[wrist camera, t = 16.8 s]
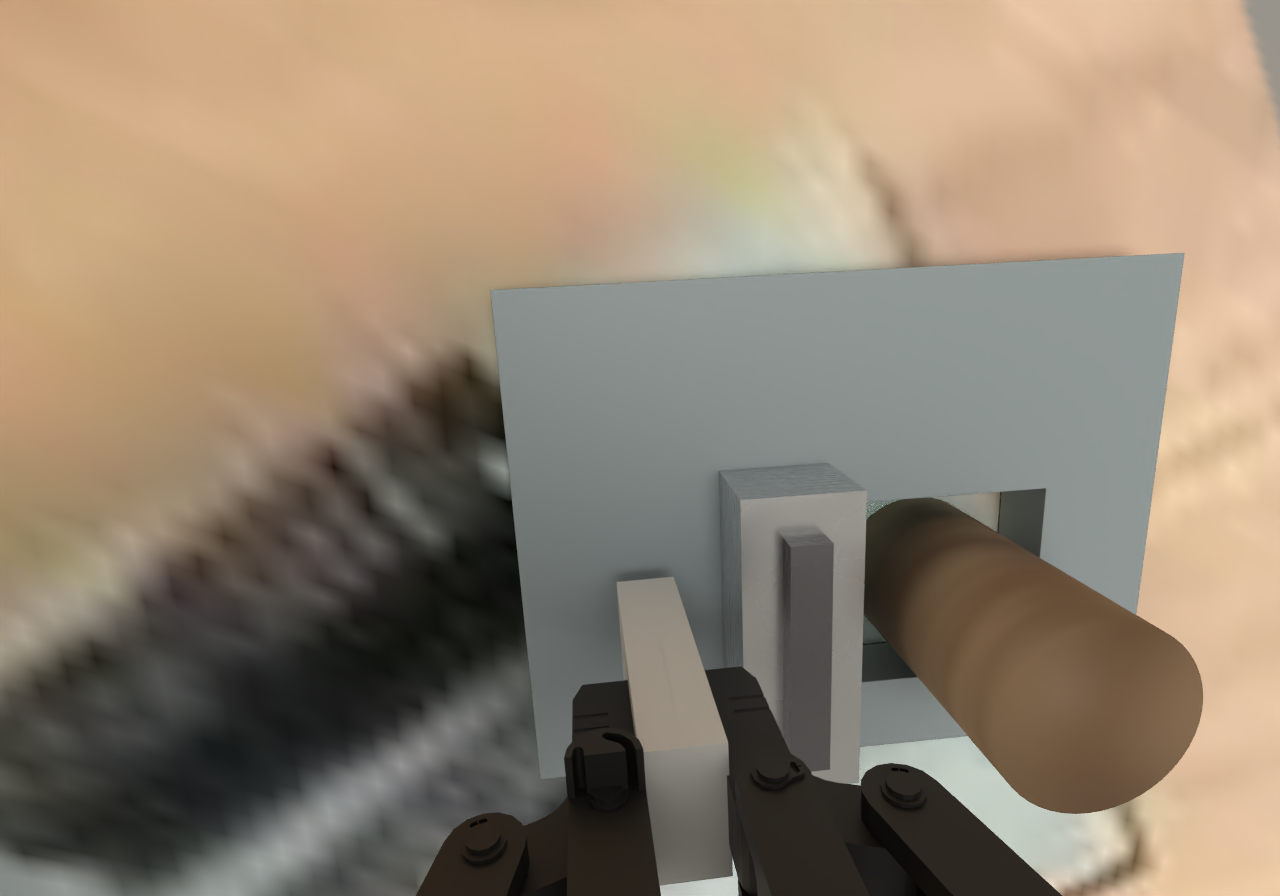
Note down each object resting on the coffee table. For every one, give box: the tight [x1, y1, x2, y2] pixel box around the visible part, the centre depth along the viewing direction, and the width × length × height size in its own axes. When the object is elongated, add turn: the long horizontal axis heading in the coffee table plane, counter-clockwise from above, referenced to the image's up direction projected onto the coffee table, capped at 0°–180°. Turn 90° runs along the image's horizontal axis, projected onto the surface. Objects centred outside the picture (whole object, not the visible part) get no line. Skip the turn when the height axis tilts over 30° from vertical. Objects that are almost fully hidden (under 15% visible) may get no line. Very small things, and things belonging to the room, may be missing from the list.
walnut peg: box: [864, 498, 1203, 814], centre depth 17 cm, size 4×4×8 cm
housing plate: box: [490, 253, 1184, 779], centre depth 20 cm, size 18×14×2 cm
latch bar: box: [719, 463, 867, 784], centre depth 17 cm, size 3×8×3 cm, turn 3°
